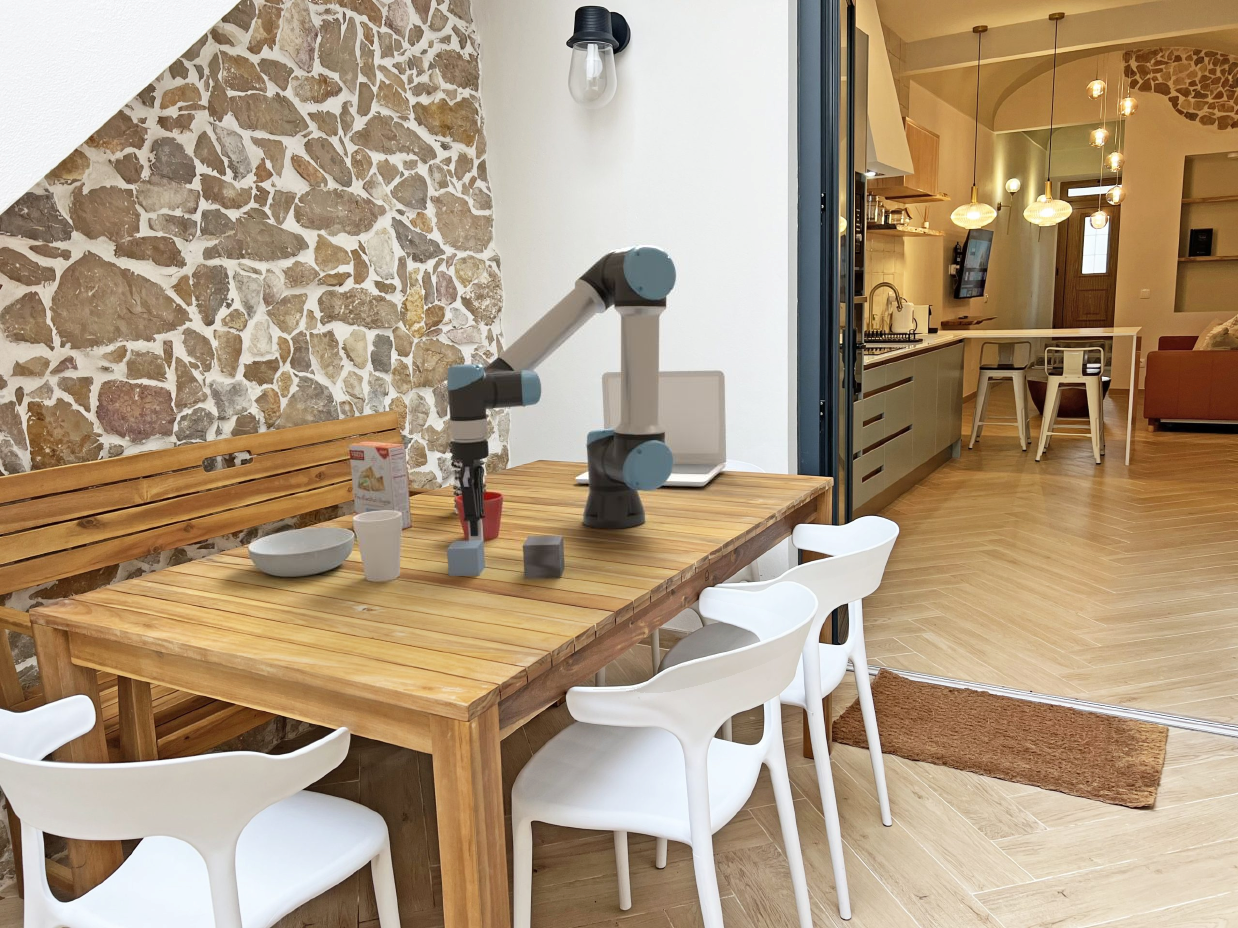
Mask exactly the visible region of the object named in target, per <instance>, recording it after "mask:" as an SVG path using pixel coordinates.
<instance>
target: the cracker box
mask: <svg viewBox="0 0 1238 928" xmlns="http://www.w3.org/2000/svg"><path fill="white" fill-rule="evenodd" d="M348 448H349V450H348V451H349V459H350V460H349V461H350V470H351V479H352V480H351V481H352V489H353V502H354V512H355V516H356V515H358V514H362V513H366V512H372V511H384V510H390V511H398V512H401V513H402V519H403V526H402V531H403V530H406V529H409V528H411V527H413V526H412V525H413V523H412V514H411V513H412V512H411V501H410V489H409V487H410V486H409V477H408V475H409V474H408V465H407V453H406V452H407V451H406V444H402V443H388V442H378V441H368V440H367V441H361V442H354V443H350V444H349V445H348Z"/></svg>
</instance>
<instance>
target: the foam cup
mask: <svg viewBox="0 0 1238 928" xmlns="http://www.w3.org/2000/svg"><path fill="white" fill-rule="evenodd" d="M352 525H353V531H354V532H355V536H356V540H357V544H358V549H359V554H360V557H361V562H362V566H363V570H364V576H365V579H366V581H369V582H371V581H372V582H373V583H379V582H380V583H381V582H382V583H383V581H384V582H388V581H389V580H390V581H394V580H396V579H398V578H399V577H400V575H401V552H402V533H403V530H402V526H403V519H402V513H401V512H398V511H390V510H384V511H372V512H366V513H362V514H358V515H356V514H355V515H354V516H352ZM398 576H399V577H398ZM397 577H398V578H397Z"/></svg>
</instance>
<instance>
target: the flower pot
mask: <svg viewBox="0 0 1238 928" xmlns="http://www.w3.org/2000/svg"><path fill="white" fill-rule="evenodd" d="M483 494H484V512H483V513H482V514H486V517H485V518H480V519H482V527H483V541H487V540H489V539H490V540H494V539H496V538H498V537H499V534H500V530H501V529H500V527H501V521H502V520H501V519H502V512H503V503H504V502H503V501H504V495H503V493H500V492H496V491H486V492H483ZM455 497H456V496H455ZM455 497H454V498H455ZM455 501H456V503H455V504H456V506H457V510H458V514H457V515H458V517H459V521H460V524H461V528H462V533H463V535H464V538H465V539H466V540H467V539H468V540H467V541H469V531H468V521H464V518H465V514H464V507H463V499H462V495H459V496H457V497H456V498H455Z"/></svg>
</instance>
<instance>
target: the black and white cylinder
mask: <svg viewBox="0 0 1238 928" xmlns="http://www.w3.org/2000/svg"><path fill="white" fill-rule="evenodd" d="M448 424H450V422H449V423H448ZM450 440H451V441H450V442H449V443H448V445H449V453H450V454H452V444H451V443H452V442H453V441H455V440H454V439H452V438H451V437H450ZM450 460H451V463H450V466H451V469H452V470H453V471H454V472H453V475H454V479H453V486H452V489H453V490H454V492H453V495H454V496H455V497H454V499H453V502H454V506H453V507H454V509H455V511H454V513H456V514H457V515H459V514H458V510H457V506H456V501H455V498H456V497H457V496H459V495H462V492H461V486H460V482H459V478H462V477H461V474H460V469H461V468H462V461H461V460H455V459H453V457H452V455H451V456H450ZM485 464H486V463H485V461H483V459H480V466H482V467H483V468H484V467H485ZM486 487H487V483H485V476H484V475H483V492H487V489H486Z"/></svg>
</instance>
